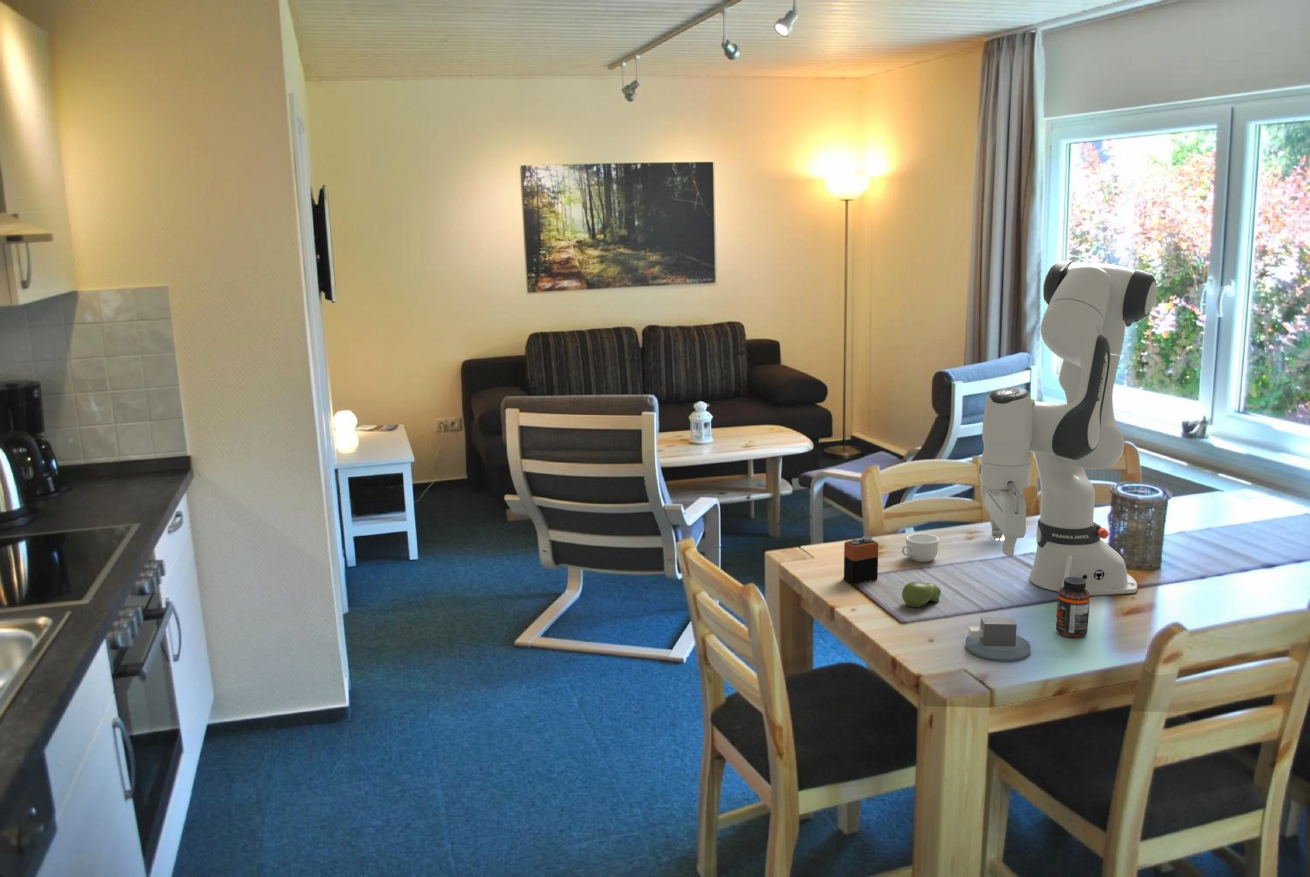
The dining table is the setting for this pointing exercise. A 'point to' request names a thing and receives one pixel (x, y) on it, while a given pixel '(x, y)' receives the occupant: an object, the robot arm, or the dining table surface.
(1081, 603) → the supplement bottle
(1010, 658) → the plate
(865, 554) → the battery
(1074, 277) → the robot arm
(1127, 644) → the dining table surface
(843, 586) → the dining table surface
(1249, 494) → the dining table surface
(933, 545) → the teacup
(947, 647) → the dining table surface
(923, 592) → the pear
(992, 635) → the block
